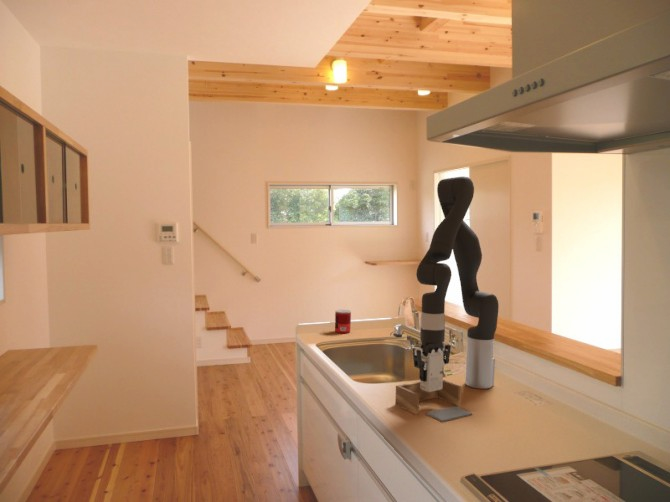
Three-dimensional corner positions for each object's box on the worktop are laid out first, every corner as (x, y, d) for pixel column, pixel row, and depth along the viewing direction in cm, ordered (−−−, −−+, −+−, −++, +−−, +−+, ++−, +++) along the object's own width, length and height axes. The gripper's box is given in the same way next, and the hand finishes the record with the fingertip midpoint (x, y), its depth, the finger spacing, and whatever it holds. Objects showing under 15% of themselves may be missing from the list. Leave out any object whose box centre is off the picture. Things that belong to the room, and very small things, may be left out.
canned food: (353, 332, 273) (354, 311, 272) (342, 334, 267) (343, 312, 266) (342, 329, 278) (342, 308, 277) (331, 331, 272) (332, 310, 272)
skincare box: (429, 392, 164) (430, 354, 164) (419, 388, 168) (419, 350, 167) (443, 389, 168) (444, 351, 167) (433, 385, 172) (434, 348, 171)
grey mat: (455, 407, 167) (455, 406, 167) (471, 414, 161) (471, 413, 161) (425, 414, 160) (426, 412, 160) (442, 422, 155) (442, 420, 154)
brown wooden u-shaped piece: (438, 395, 178) (438, 377, 177) (459, 405, 169) (460, 386, 169) (395, 404, 168) (396, 385, 168) (416, 414, 160) (416, 395, 159)
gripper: (441, 322, 174) (439, 372, 175) (406, 326, 166) (405, 379, 167) (458, 326, 167) (456, 378, 168) (423, 331, 160) (421, 386, 161)
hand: (431, 379), depth 168 cm, fingers closed on skincare box, 6 cm apart
